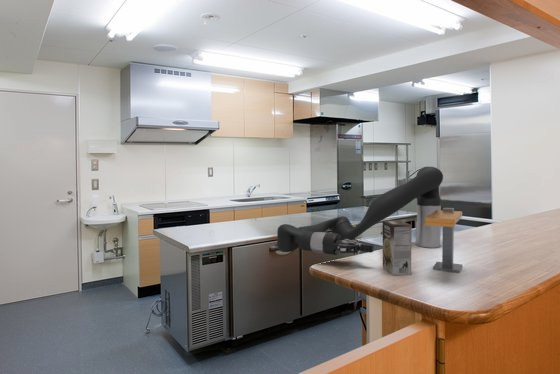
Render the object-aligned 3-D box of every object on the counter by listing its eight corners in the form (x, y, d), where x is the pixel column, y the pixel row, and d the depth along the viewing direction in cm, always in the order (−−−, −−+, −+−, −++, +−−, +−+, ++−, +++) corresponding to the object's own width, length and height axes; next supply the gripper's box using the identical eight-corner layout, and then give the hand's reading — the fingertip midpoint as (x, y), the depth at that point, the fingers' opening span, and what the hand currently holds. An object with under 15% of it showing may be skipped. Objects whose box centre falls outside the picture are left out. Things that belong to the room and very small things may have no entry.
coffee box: (381, 267, 128) (381, 220, 127) (400, 266, 128) (400, 219, 127) (392, 275, 119) (392, 224, 118) (412, 274, 119) (412, 224, 118)
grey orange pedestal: (424, 281, 112) (424, 214, 111) (436, 263, 131) (437, 206, 130) (453, 285, 108) (454, 216, 107) (462, 266, 127) (463, 207, 125)
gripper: (333, 249, 141) (378, 255, 132) (317, 257, 130) (366, 264, 121) (333, 229, 141) (379, 234, 132) (317, 236, 130) (366, 241, 120)
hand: (372, 249), depth 126 cm, fingers closed
